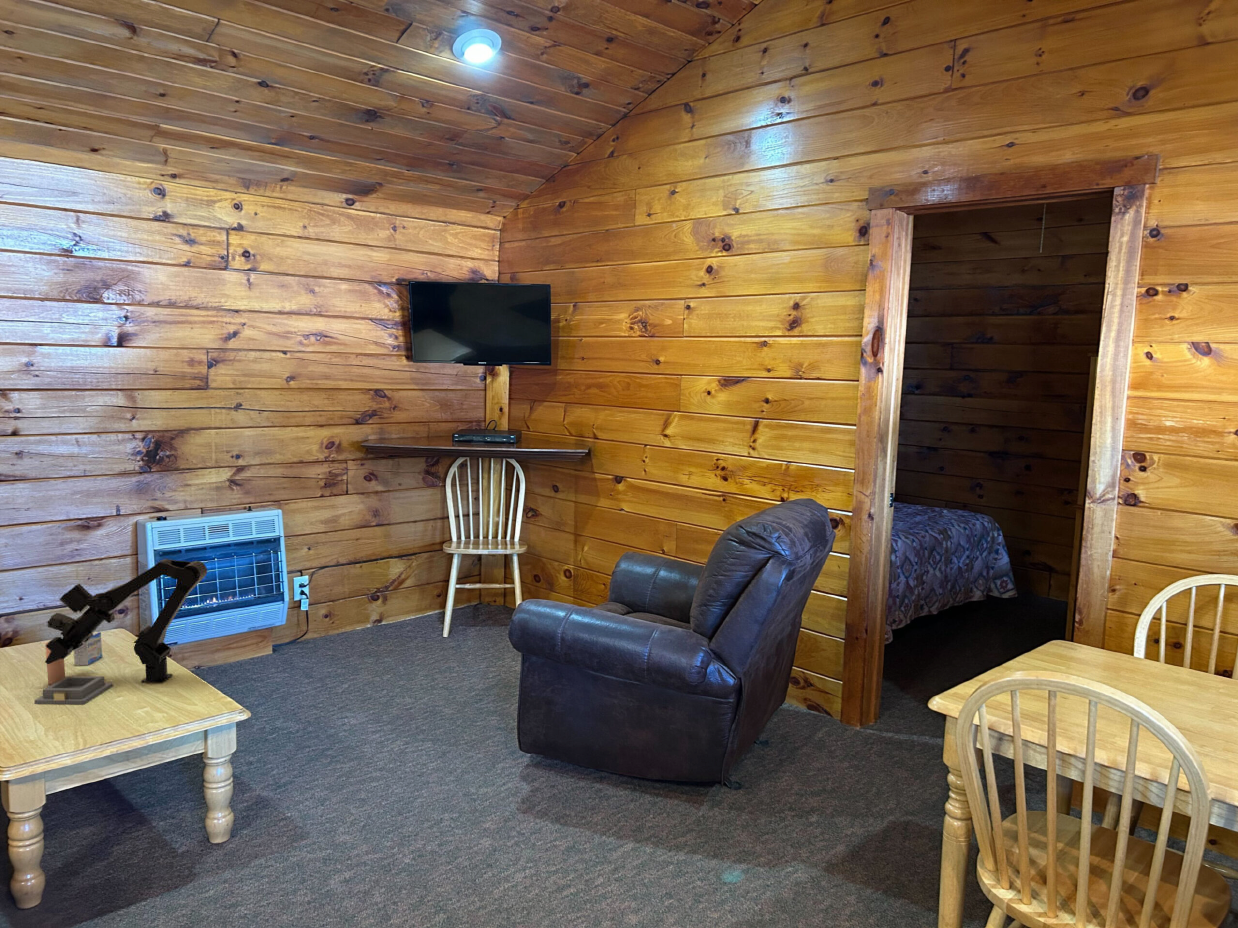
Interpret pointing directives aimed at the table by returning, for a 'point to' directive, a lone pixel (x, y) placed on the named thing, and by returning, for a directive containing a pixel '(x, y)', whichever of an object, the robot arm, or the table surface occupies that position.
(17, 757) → the table surface
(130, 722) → the table surface
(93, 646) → the medicine box
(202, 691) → the table surface
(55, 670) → the terracotta peg
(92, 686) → the gray square tray
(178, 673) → the table surface
